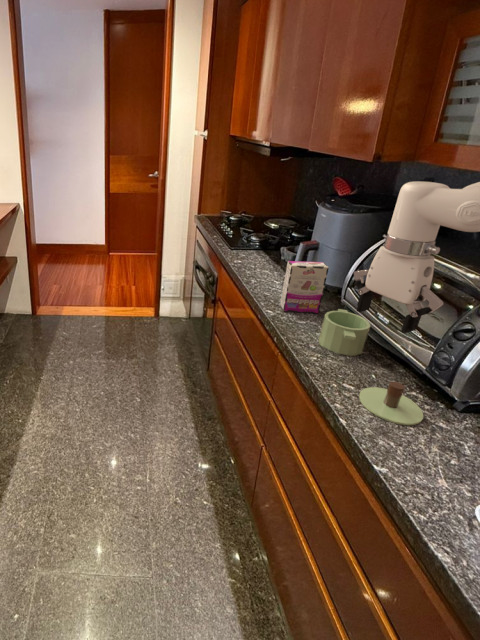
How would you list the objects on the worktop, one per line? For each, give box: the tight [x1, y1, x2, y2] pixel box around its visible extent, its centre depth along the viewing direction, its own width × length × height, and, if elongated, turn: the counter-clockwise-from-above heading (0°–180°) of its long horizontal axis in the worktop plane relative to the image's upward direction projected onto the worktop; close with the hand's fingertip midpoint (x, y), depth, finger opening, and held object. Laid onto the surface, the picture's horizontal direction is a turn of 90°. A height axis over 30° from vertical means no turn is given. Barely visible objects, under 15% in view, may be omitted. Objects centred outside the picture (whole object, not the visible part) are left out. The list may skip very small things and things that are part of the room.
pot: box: [318, 308, 372, 356], centre depth 107 cm, size 11×16×8 cm, turn 156°
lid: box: [358, 381, 424, 426], centre depth 85 cm, size 12×12×6 cm
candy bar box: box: [279, 260, 329, 314], centre depth 127 cm, size 11×5×16 cm, turn 81°
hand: (383, 320), depth 84 cm, fingers open, 9 cm apart
